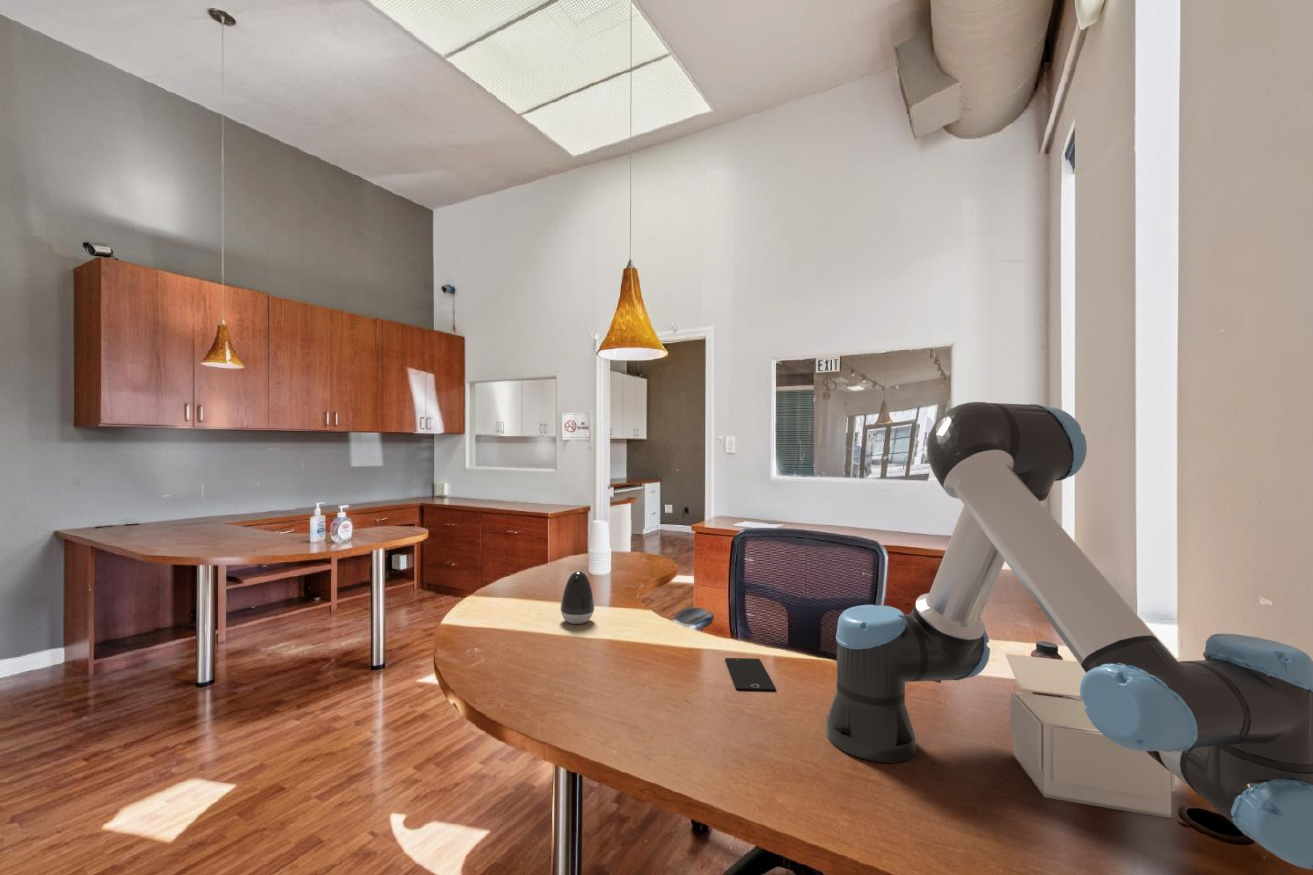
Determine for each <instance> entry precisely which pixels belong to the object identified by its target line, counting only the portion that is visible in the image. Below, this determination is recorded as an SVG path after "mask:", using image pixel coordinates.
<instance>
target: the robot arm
mask: <svg viewBox="0 0 1313 875" xmlns="http://www.w3.org/2000/svg"><path fill="white" fill-rule="evenodd" d="M930 429H931V430H930V431H929V435H928V438H927V443H926V444H927V446H926V447H927V450H926V453H927V458H928V463H929V465H930V468H931V471H932V473H933V474H934V475H933V476H934V477H935V478H936V480H937V481H938V483H939V485H940V486H941V487H942V489H943V491H945V494H947V495H948V496H949V497H951V498H954V499H959V500H960V501H961V502H962V503H963V506H962V509H961V512H960V514H959V516H958V518H957V522H956V524H955V527H954V529H953V532H952V534H951V538H950V539H949V542H948V544H947V547H946V549H945V552H944V555H943V557H942V560H941V562H940V564H939V567H938V570H937V572H936V574H935V578H934V579H933V580H934V581H933V583H932V584H931V588H930V590H929V592H928V593H927V592H926V593H923V594H921V595H919V596H918V597H917V599H916V600H915V602H914V605H913V608H912V610H911V612H910V613H909V614H905V613H904V612H903V611H902V610H901V609H899V608H897V607H893V606H890V605H884V604H882V605H881V604H879V605H875V604H863V605H856V606H851V607H849V608H847V609H844V610H843V611H842V613H841V614H840V615H839V617H838V620H837V629H836V634H835V638H836V639H835V640H836V690H835V694H834V697H833V699H832V702H831V704H830V708H829V711H828V714H827V716H826V720H825V726H826V727H825V734H826V737H827V739H828V740H829V741H830V742H831V743H832V744H833V745H834V746H835V747H836V748H838V749H840V750H841V751H843V752H845V753H846V754H849V755H851V756H854V757H856V758H860V759H862V760H867V761H871V762H877V763H887V764H888V763H890V764H891V763H900V762H901V763H902V762H905V761H908V760H910V759H911V758H912V757H914V755H915V754H916V734H915V732H914V728H913V724H912V722H911V719H910V716H909V713H908V709H907V707H906V700H905V698H906V695H905V694H906V683H910V682H935V681H936V682H938V681H939V682H940V681H961V680H965V679H968V678H973V677H975V676H977V675H979V674H980V673H982V672H983V671H984V669H985V668H986V666H988V665H987V664H988V662H989V659H990V655H991V653H990V652H991V648H990V647H989V646H988V643H990V639H989V636H988V633H987V631H986V626H985V622H984V620H983V619H982V617H981V615H982V613H983V610H984V608H985V607H986V604H987V602H988V600H989V597H990V595H991V593H992V591H993V589H994V586H995V585H996V582H997V579H998V578H999V575H1000V574H1001V571H1002V569H1003V566H1004V564H1005V563H1006V564H1007V566H1008V567H1009V568H1010V570H1011V572H1012V573H1013V574H1014V575H1015V578H1016V579H1017V580H1018V581H1019V582H1020V584H1021V585H1022V586H1023V588H1024V589H1025V591H1026V592H1027V593H1028V595H1029V596H1030V598H1031V599H1032V600H1033V602H1034V603H1035V604H1036V606H1037V607H1038V609H1039V610H1040V611H1041V612H1042V614H1043V616H1044V617H1045V618H1046V619H1047V621H1048V623H1049V624H1050V625H1051V627H1052V628H1053V629H1054V630H1055V633H1057V634H1058V636H1059V637H1060V639H1061V640H1062V642H1063V643H1064V644H1065V646H1066V647H1067V648H1068V650H1069V651H1070V653H1071V654H1072V656H1073V657H1074V658H1075V659H1076V660H1075V661H1077V662H1079V664H1080V665H1081V666H1082V681H1081V686H1080V697H1081V698H1080V699H1081V700H1083V702H1084V705H1085V708H1084V710H1085V712H1086V714H1087V716H1088V717H1089V719H1090V721H1091V722H1092V723H1093V725H1094V726H1095V727H1096V728H1097V729H1098V730H1099V731H1100V732H1101V733H1102V734H1103V735H1104V736H1106V737H1107V738H1108V739H1110V740H1111V741H1113V742H1115V743H1116V744H1118V745H1120V746H1122V747H1125V748H1128V749H1131V750H1137V751H1146V752H1147V753H1148V754H1149V755H1150V756H1151V757H1153V758H1154V759H1155V760H1156V761H1158V762H1159V763H1160V764H1161V765H1163V766H1164V767H1165V768H1166V769H1167V770H1169V771H1170V772H1172V773H1173V774H1174V775H1175V777H1177V778H1178V779H1179V780H1181V782H1183V783H1184V784H1185V785H1186V786H1188V787H1189V788H1190V789H1191V790H1193V791H1194V793H1196V794H1197V795H1199V796H1200V797H1201V798H1202V799H1203V800H1205V801H1206V802H1207V803H1208V804H1210V805H1211V806H1212V807H1213V809H1215V810H1216V811H1217V812H1218V813H1220V814H1221V815H1222V816H1224V817H1225V818H1226V819H1227V820H1229V822H1231V823H1232V825H1233V826H1235V827H1236V828H1237V829H1238V830H1239V831H1240V832H1241V833H1242V834H1243V835H1244V836H1247V837H1248V838H1249V839H1251V840H1253V841H1254V842H1255V843H1257V844H1258V845H1260V846H1261V847H1262V848H1264V849H1265V850H1267V851H1268V852H1270V853H1272V854H1273V855H1274V856H1276V857H1277V858H1279V859H1281V860H1283V861H1285V862H1287V863H1288V864H1291V865H1293V866H1296V867H1299V868H1303V869H1306V870H1313V659H1312V658H1311V657H1310V655H1309V654H1307V653H1306V652H1304V651H1303V650H1301V649H1300V648H1296V647H1294V646H1292V645H1289V644H1286V643H1283V642H1278V641H1275V640H1272V639H1271V640H1270V639H1267V638H1261V637H1258V636H1257V637H1255V636H1249V635H1245V634H1244V635H1243V634H1237V633H1214V634H1211V635H1209V637H1208V638H1207V640H1205V648H1204V651H1203V653H1202V657H1203V658H1204V659H1200V660H1181V661H1180V660H1179V661H1178V660H1177V659H1176V658H1175V657H1174V655H1173V654H1172V653H1171V652H1170V651H1169V649H1168V648H1167V647H1166V646H1165V645H1164V644H1163V643H1162V642H1161V641H1160V640H1159V639H1158V637H1156V635H1155V634H1154V633H1153V632H1152V631H1151V629H1150V628H1149V627H1148V626H1147V624H1146V623H1145V622H1144V621H1143V620H1142V619H1141V618H1140V617H1139V615H1138V614H1137V613H1136V611H1134V609H1133V608H1132V606H1130V605H1129V603H1128V602H1127V601H1126V600H1125V599H1124V598H1123V597H1122V595H1121V594H1120V593H1119V592H1118V591H1117V590H1116V589H1115V587H1114V586H1113V585H1112V584H1111V583H1110V581H1109V580H1108V579H1107V578H1106V577H1105V575H1103V573H1102V572H1101V571H1100V569H1099V568H1097V567H1096V566H1095V564H1094V563H1093V562H1092V560H1091V559H1090V557H1088V556H1087V555H1086V554H1085V553H1084V552H1083V551H1082V549H1081V548H1080V547H1079V545H1078V544H1077V542H1075V541H1074V540H1073V538H1071V536H1070V535H1069V534H1068V533H1067V532H1066V530H1065V529H1064V528H1063V527H1062V526H1061V525H1060V524H1059V522H1058V521H1057V520H1056V519H1055V518H1054V516H1053V515H1052V514H1051V513H1050V512H1049V511H1048V510H1047V508H1046V507H1045V506H1044V505H1043V504H1042V502H1043V503H1044V502H1045V501H1046V500H1047V498H1048V496H1049V494H1050V492H1051V489H1052V487H1053V485H1054V483H1055V482H1059V481H1063V480H1066V479H1067V478H1071V477H1073V476H1074V475H1076V474H1077V473H1078V472H1079V471H1080V469H1081V468H1082V467H1083V465H1084V463H1085V461H1086V456H1087V450H1088V449H1087V440H1086V436H1085V433H1083V431H1082V427H1081V425H1080V424H1079V422H1078V421H1077V420H1076V419H1075V418H1074V417H1073V416H1072V415H1071V414H1069V413H1068V412H1067V411H1065V410H1063V409H1060V408H1057V407H1053V406H1045V405H1040V404H1038V403H1029V404H1027V403H1026V404H1023V403H1022V404H1020V403H1001V402H999V403H998V402H986V401H971V402H970V401H969V402H966V403H961V404H958V405H956V406H953V407H952V408H950V409H948V410H947V411H946V412H944V413H942V414H941V415H940V417H939V418H938V419H937V420H936V421H935V422H934V424H933V426H932V427H931V428H930Z"/></svg>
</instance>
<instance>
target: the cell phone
mask: <svg viewBox="0 0 1313 875" xmlns="http://www.w3.org/2000/svg"><path fill="white" fill-rule="evenodd" d="M724 662H725V664H726V667H727V670H728V672H729V675H730V679H731V681H732V683H733V686H734V688H735V691H738V692H776V691H777V688H776V686H775V684H774V682H773V680H772V679H771V677H770V675H769V673H768V671H767V669H766V668H765V666H764V664H763V662H762V660H761V659H760V658H757V657H756V658H754V657H753V658H749V657H748V658H746V657H745V658H743V657H741V658H740V657H739V658H738V657H726V658H724Z"/></svg>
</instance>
